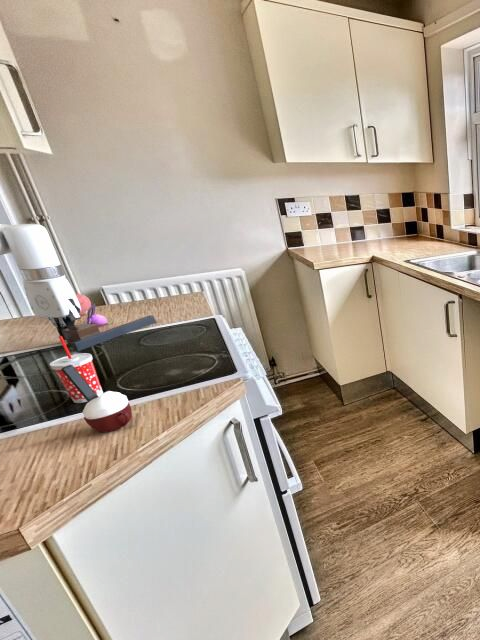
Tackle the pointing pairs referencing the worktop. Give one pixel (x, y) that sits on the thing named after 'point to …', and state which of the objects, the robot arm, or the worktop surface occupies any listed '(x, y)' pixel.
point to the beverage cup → (84, 369)
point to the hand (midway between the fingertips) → (70, 338)
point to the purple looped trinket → (95, 317)
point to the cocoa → (101, 404)
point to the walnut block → (79, 332)
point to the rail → (112, 333)
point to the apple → (83, 303)
